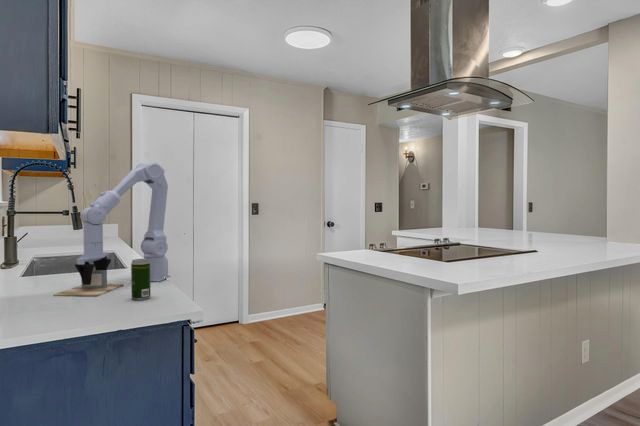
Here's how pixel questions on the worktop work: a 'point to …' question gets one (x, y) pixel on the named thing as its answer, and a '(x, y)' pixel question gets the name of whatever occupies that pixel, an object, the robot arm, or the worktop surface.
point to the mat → (88, 291)
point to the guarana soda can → (140, 279)
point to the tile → (97, 280)
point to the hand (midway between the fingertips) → (94, 282)
